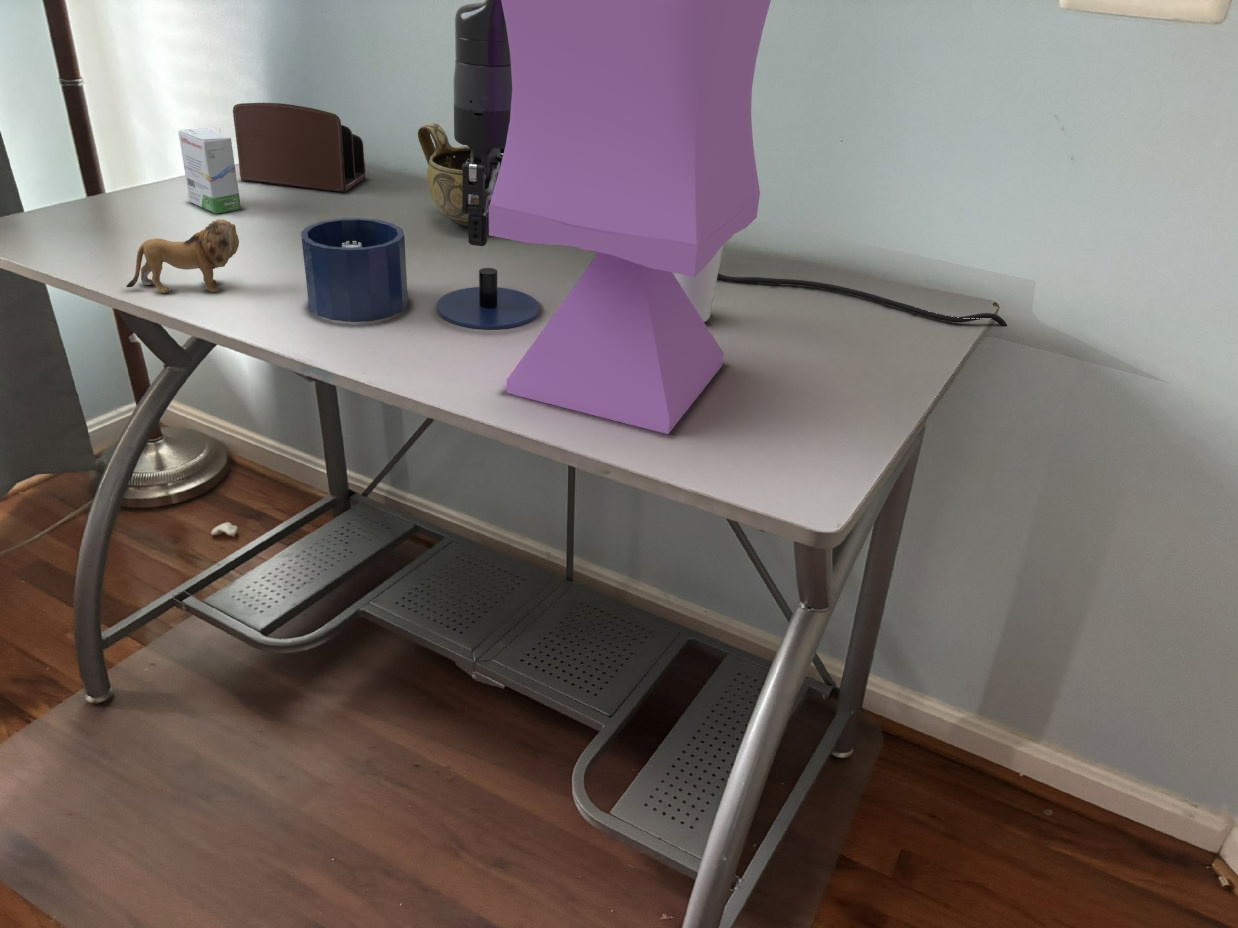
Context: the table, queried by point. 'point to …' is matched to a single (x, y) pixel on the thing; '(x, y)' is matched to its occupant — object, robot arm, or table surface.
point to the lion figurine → (189, 254)
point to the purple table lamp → (628, 188)
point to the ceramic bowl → (445, 172)
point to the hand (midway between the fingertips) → (485, 234)
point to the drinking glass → (702, 285)
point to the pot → (355, 269)
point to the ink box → (210, 170)
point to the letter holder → (297, 147)
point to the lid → (488, 305)
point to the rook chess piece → (351, 245)
